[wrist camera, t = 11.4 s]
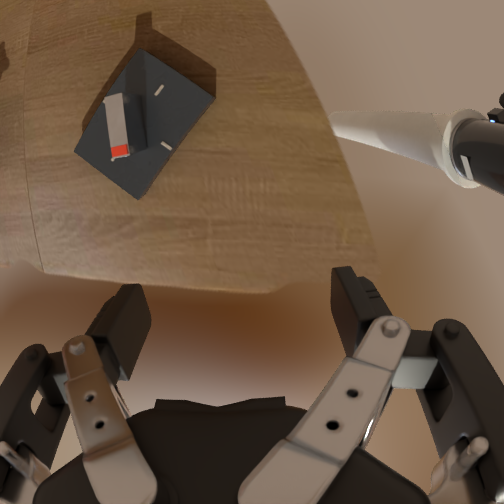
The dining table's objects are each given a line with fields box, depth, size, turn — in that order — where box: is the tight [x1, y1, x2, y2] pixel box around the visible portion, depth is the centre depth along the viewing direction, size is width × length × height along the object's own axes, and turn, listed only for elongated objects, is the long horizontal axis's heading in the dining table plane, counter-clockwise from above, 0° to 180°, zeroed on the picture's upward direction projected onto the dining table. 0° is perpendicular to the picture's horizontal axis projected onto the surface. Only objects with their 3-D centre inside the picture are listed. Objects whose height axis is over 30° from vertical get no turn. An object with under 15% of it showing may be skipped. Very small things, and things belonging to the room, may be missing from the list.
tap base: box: [74, 48, 216, 200], centre depth 32 cm, size 15×11×3 cm
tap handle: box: [104, 93, 147, 159], centre depth 28 cm, size 6×2×6 cm, turn 5°
